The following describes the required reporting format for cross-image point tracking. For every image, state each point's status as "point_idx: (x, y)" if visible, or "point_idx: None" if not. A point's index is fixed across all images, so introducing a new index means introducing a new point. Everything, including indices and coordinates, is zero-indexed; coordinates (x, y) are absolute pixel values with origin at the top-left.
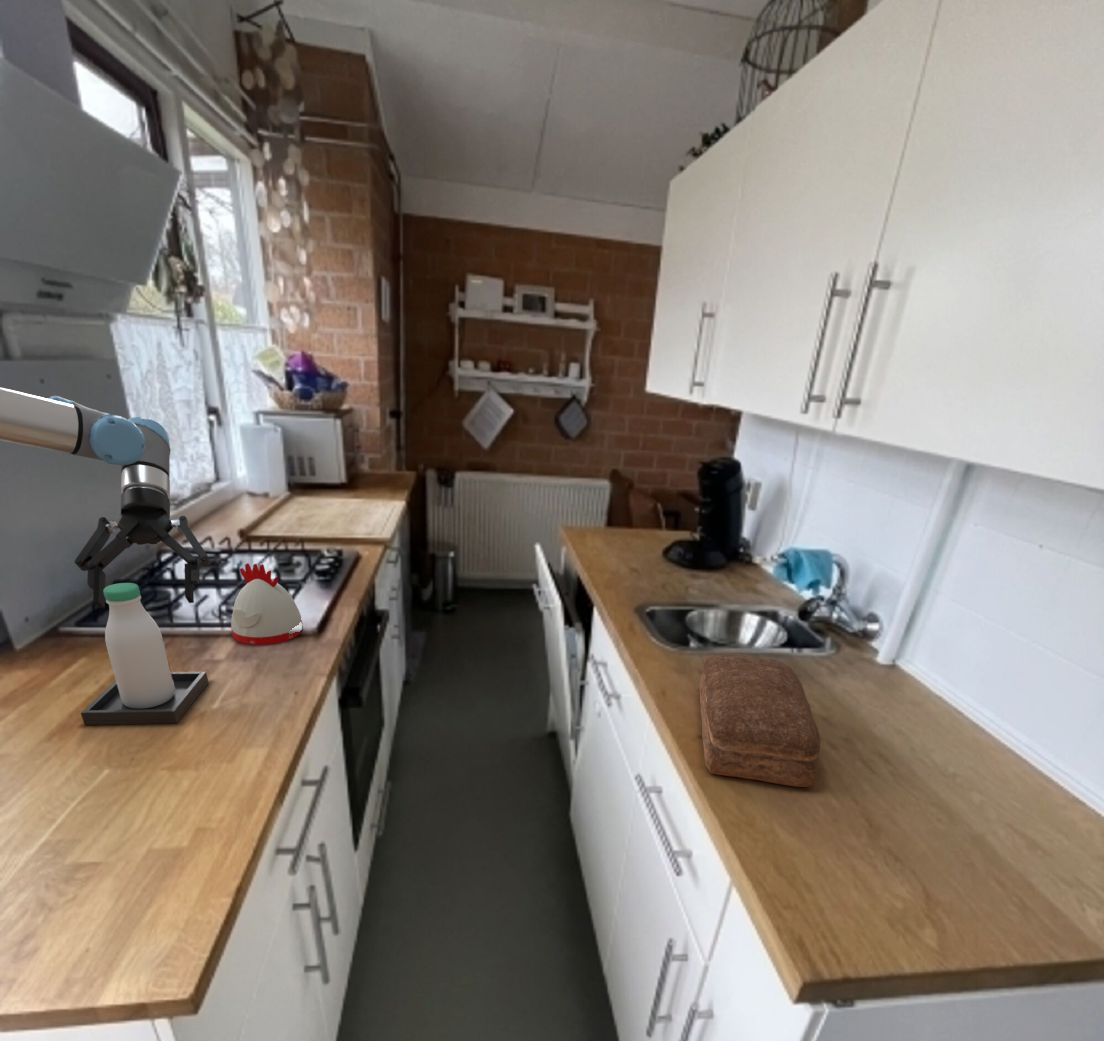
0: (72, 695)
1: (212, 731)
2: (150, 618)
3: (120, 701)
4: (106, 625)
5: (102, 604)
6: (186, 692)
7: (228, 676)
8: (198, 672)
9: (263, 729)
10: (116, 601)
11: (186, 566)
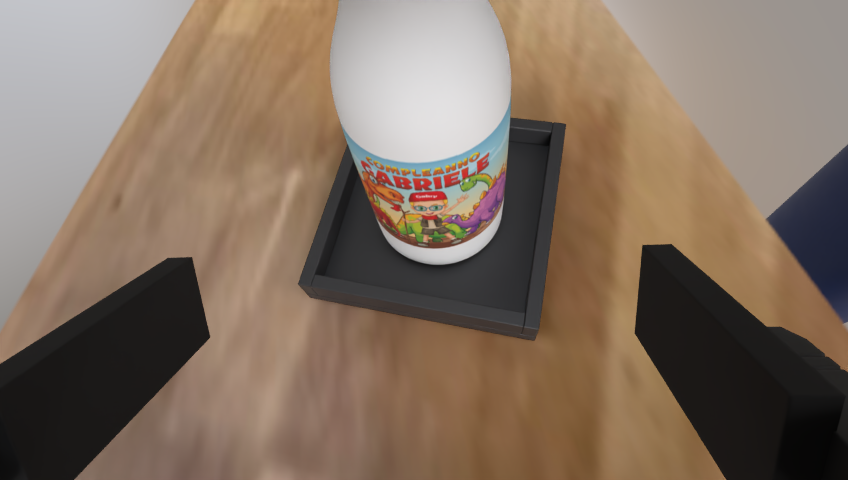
0: None
1: (301, 88)
2: (334, 28)
3: (508, 210)
4: (493, 10)
5: (640, 308)
6: (342, 175)
7: (257, 327)
8: (318, 281)
9: (211, 81)
10: None
11: (6, 374)
